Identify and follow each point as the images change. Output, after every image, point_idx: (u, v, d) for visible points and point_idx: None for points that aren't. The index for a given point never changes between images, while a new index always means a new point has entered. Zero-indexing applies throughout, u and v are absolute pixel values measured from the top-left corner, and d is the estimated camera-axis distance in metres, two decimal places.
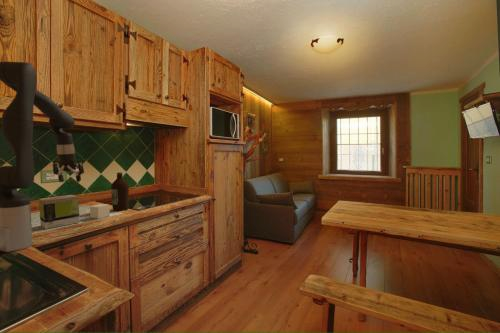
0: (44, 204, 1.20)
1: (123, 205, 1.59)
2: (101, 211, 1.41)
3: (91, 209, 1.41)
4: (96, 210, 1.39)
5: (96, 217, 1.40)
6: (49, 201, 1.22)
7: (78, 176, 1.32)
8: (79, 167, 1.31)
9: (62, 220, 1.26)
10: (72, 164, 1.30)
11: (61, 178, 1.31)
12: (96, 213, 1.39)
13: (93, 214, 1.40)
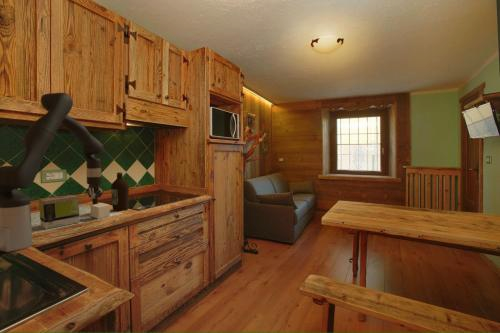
0: (44, 204, 1.20)
1: (123, 205, 1.59)
2: (102, 211, 1.41)
3: (92, 208, 1.41)
4: (96, 210, 1.39)
5: (96, 216, 1.40)
6: (49, 201, 1.22)
7: (95, 199, 1.43)
8: (98, 193, 1.41)
9: (62, 220, 1.26)
10: (96, 186, 1.42)
11: (93, 201, 1.44)
12: (96, 213, 1.39)
13: (93, 214, 1.40)
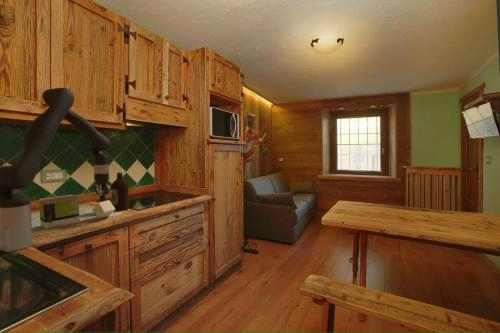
0: (44, 204, 1.20)
1: (123, 205, 1.59)
2: (105, 214, 1.40)
3: (97, 206, 1.38)
4: (101, 212, 1.38)
5: (97, 215, 1.39)
6: (49, 201, 1.22)
7: (102, 196, 1.41)
8: (105, 190, 1.38)
9: (62, 220, 1.26)
10: (103, 183, 1.39)
11: (101, 198, 1.41)
12: (99, 213, 1.38)
13: (96, 211, 1.39)
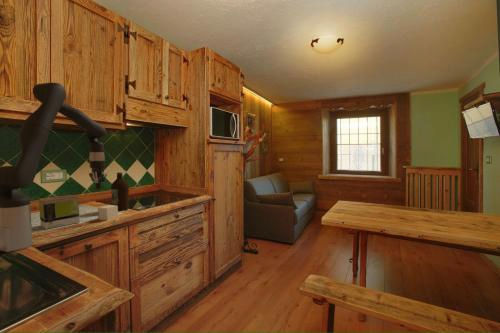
0: (44, 204, 1.20)
1: (123, 205, 1.59)
2: None
3: (104, 210, 1.37)
4: (104, 217, 1.37)
5: (99, 216, 1.38)
6: (49, 201, 1.22)
7: (98, 184, 1.42)
8: (101, 177, 1.40)
9: (62, 220, 1.26)
10: (99, 171, 1.40)
11: (96, 186, 1.42)
12: (102, 217, 1.38)
13: (100, 212, 1.38)
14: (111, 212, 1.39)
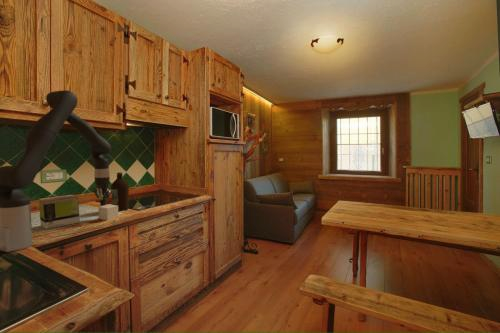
0: (44, 204, 1.20)
1: (123, 205, 1.59)
2: None
3: (105, 210, 1.37)
4: (104, 216, 1.37)
5: (99, 215, 1.38)
6: (49, 201, 1.22)
7: (103, 200, 1.41)
8: (106, 194, 1.39)
9: (62, 220, 1.26)
10: (104, 187, 1.39)
11: (101, 202, 1.41)
12: (102, 216, 1.38)
13: (101, 212, 1.38)
14: (111, 212, 1.39)
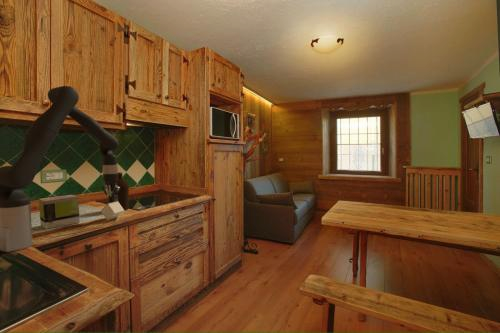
0: (44, 204, 1.20)
1: (123, 205, 1.59)
2: None
3: (111, 212, 1.35)
4: (107, 215, 1.36)
5: (103, 210, 1.37)
6: (49, 201, 1.22)
7: (111, 197, 1.38)
8: (114, 190, 1.36)
9: (62, 220, 1.26)
10: (113, 184, 1.36)
11: (110, 199, 1.38)
12: (105, 213, 1.36)
13: (106, 209, 1.36)
14: (115, 215, 1.38)
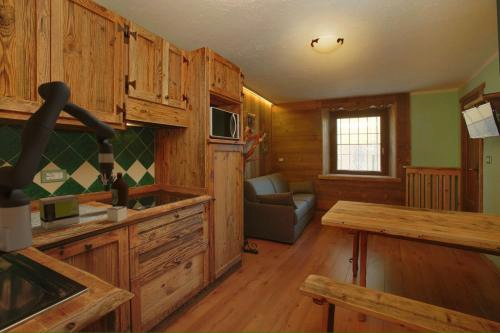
0: (44, 204, 1.20)
1: (123, 205, 1.59)
2: None
3: (115, 218, 1.35)
4: (110, 217, 1.36)
5: (110, 210, 1.35)
6: (49, 201, 1.22)
7: (107, 186, 1.39)
8: (110, 179, 1.37)
9: (62, 220, 1.26)
10: (108, 172, 1.37)
11: (105, 188, 1.39)
12: (109, 214, 1.35)
13: (113, 212, 1.35)
14: None
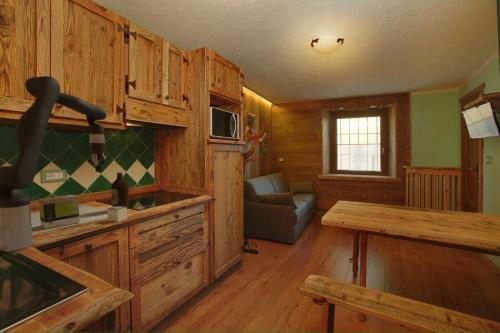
0: (44, 204, 1.20)
1: (123, 205, 1.59)
2: None
3: (115, 218, 1.35)
4: (110, 217, 1.36)
5: (110, 210, 1.35)
6: (49, 201, 1.22)
7: (98, 166, 1.41)
8: (101, 159, 1.39)
9: (62, 220, 1.26)
10: (99, 153, 1.39)
11: (96, 168, 1.41)
12: (109, 214, 1.35)
13: (113, 212, 1.35)
14: None
